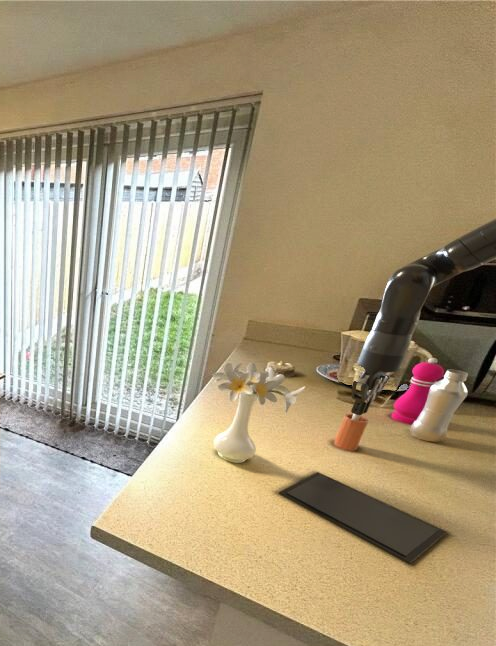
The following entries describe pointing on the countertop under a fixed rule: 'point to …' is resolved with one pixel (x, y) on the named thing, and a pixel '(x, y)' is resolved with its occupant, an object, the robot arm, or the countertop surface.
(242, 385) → the flower vase
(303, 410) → the countertop surface
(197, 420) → the countertop surface
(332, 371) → the ceramic plate
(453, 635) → the countertop surface
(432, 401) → the plastic bottle
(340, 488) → the tablet
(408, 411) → the pepper mill
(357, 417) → the stylus
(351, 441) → the pen cup
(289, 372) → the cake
